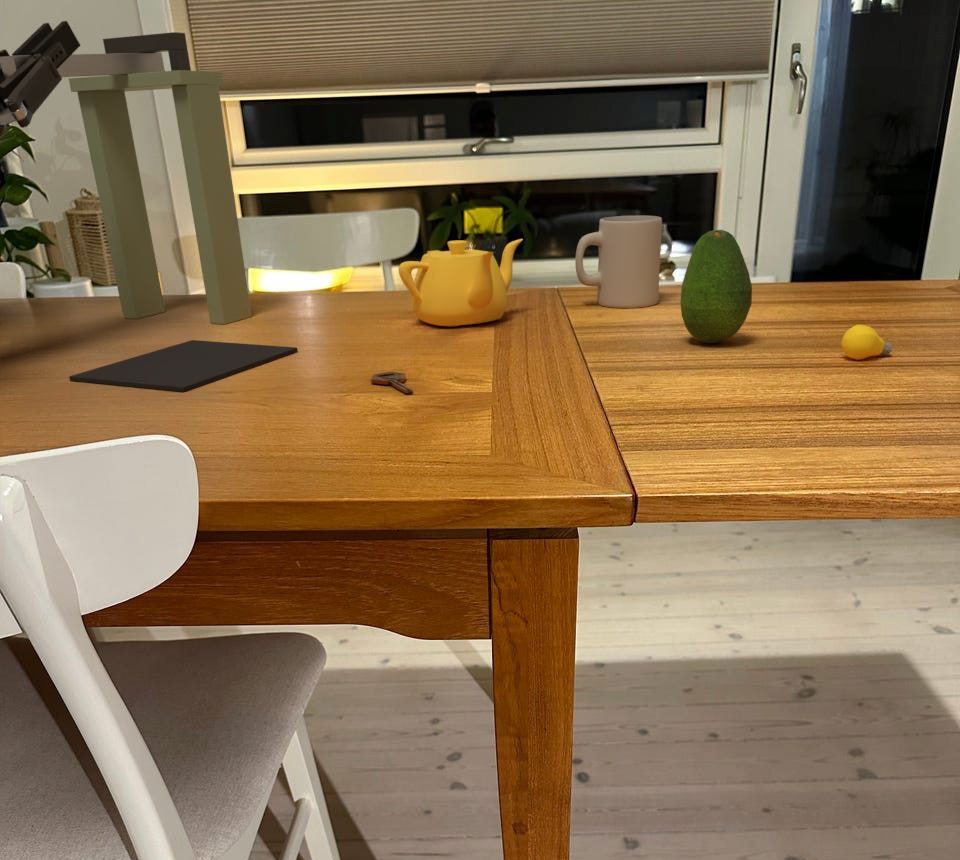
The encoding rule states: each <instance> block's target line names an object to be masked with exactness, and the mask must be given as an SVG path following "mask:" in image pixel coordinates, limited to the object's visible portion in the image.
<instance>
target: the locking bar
mask: <svg viewBox="0 0 960 860" xmlns="http://www.w3.org/2000/svg"><path fill="white" fill-rule="evenodd" d="M31 57H32V55H20V56H13V55H10V56H3V57H0V63H1V67H2V71H3V75H4V78H5V80H6V79H7V78H8V77H9V76H11V75H12V74H13V73H14V72H15V71H16V70H17V69H19V68H20V67H21V66H22V65H23V64H24V63H26V62H27V61H28V60H29V59H30V58H31ZM57 71H58V72H59V74H60V76H61V77H62V78H80V77H95V76H108V75H122V74H135V73H149V72H162V71H166V68H165V63H164V58H163V52H156V53H114V54H106V53H77V54H76V53H75V54H74V53H73V54H72V55H71V56H70V57H69V58H68V59H67V60H66V61H65V62H64V63H63V64H62V65H61V66H60V67H59V68H58V69H57Z"/></svg>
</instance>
